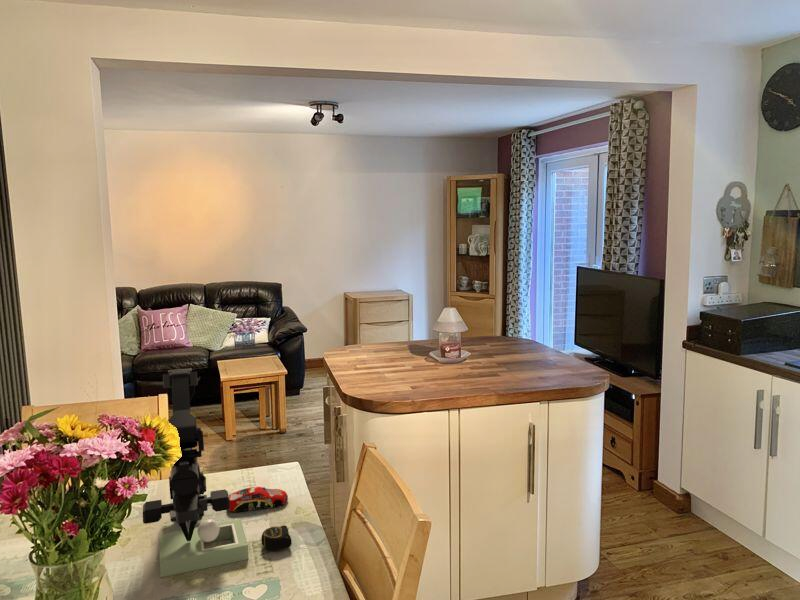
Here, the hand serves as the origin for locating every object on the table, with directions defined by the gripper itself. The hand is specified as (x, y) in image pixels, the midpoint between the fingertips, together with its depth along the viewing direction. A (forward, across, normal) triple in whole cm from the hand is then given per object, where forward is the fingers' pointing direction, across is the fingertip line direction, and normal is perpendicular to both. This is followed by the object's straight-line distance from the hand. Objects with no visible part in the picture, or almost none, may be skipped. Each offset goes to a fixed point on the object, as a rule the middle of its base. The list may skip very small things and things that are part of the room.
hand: (188, 540), depth 141 cm
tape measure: (+4, +20, -3) cm, 21 cm away
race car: (+4, +18, +20) cm, 28 cm away
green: (+4, +3, 0) cm, 5 cm away
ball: (-2, +4, 0) cm, 5 cm away
